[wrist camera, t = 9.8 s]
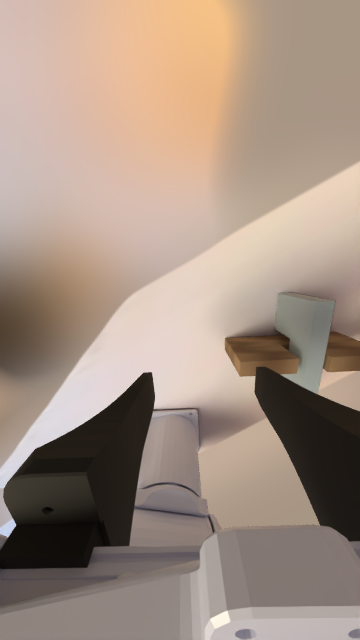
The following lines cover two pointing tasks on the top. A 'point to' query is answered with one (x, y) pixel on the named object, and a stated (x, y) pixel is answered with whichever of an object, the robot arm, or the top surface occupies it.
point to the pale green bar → (305, 334)
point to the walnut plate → (289, 354)
